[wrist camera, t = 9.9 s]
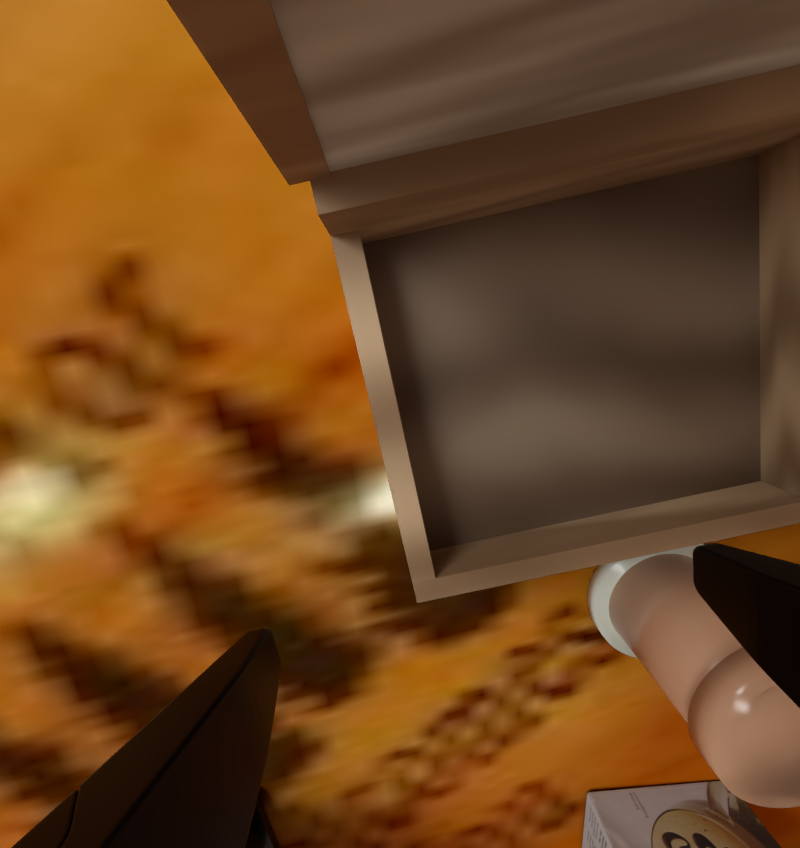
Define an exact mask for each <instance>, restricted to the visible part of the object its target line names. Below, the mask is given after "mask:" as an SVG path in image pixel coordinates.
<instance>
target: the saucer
mask: <svg viewBox="0 0 800 848" xmlns="http://www.w3.org/2000/svg"><path fill="white" fill-rule="evenodd" d="M701 545H704V544H698V545H693V546H688V547H684V548H679V549H674V550H669V551H665V552H660V553H655V554H650V555H645V556H641V557H636V558H631V559H626V560H621V561H617V562H612V563H607V564H602V565H598V566H597V568H596V570H595V571H594V573H593V575H592V578H591V580H590V583H589V587H588V594H587V605H588V610H589V613H590V616H591V619H592V621H593V622H594V624H595V626H596V627H597V629H598V630H599V631H600V633H601V634H602V636H603V637H604V638H605V639H606V641H607V642H608V643H609V644H610V645H611V646H612V647H614V648H615V649H617V650H618V651H620V652H622V653H624V654H626V655H629V656H632V657H635V658H637V657H636V656H635V654H634V653H633V652H632V651H631V649H630V648H629V647H628V645H627V644H626V643H625V641H624V640H623V639H622V638H621V636H620V635H619V634H618V632H617V631H616V630H615V628H614V627H613V625H612V623H611V620H610V616H609V600H610V596H611V593H612V591H613V588H614V587H615V585H616V583H617V582H618V580H619V579H620V578H621V576H622V575H623V574H624V573H625V572H626V571H627V570H629V569H630V568H631V567H632V566H634V565H635V564H637V563H638V562H640V561H642V560H644V559H647V558H649V557H652V556H656V555H661V554H680V555H684V556H688V557H690V558H693V550H694V548H696V547H697V546H701Z"/></svg>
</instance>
